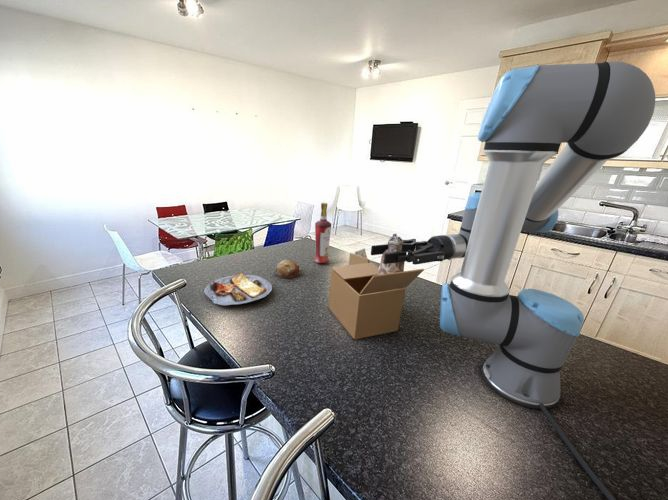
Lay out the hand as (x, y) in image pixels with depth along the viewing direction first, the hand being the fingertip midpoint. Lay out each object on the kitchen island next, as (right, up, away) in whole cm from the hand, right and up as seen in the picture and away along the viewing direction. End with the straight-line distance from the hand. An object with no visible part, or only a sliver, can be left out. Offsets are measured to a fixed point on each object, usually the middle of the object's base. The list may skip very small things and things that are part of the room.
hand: (378, 254), depth 82 cm
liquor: (-12, 0, +58) cm, 59 cm away
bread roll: (-28, -5, +45) cm, 53 cm away
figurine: (+5, -6, +4) cm, 9 cm away
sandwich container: (+5, -11, +35) cm, 37 cm away
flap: (+2, -7, -4) cm, 9 cm away
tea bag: (+4, -4, +49) cm, 50 cm away
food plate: (-45, -13, +28) cm, 55 cm away
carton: (-2, -20, +14) cm, 24 cm away
